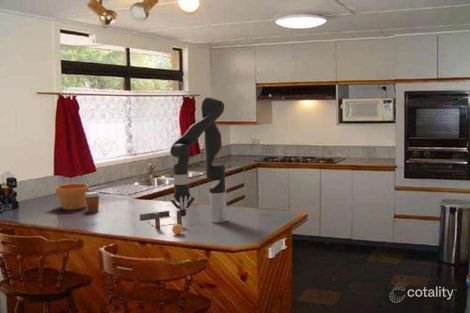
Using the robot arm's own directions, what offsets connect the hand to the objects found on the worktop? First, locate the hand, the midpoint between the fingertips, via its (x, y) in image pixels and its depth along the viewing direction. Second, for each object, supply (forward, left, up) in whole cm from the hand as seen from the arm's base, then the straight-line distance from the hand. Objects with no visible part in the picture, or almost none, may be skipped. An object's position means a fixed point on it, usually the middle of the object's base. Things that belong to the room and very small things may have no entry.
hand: (183, 216), depth 274 cm
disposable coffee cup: (-96, -30, -12) cm, 101 cm away
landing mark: (-40, 0, -12) cm, 42 cm away
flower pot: (-114, -40, -12) cm, 121 cm away
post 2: (-26, +6, -12) cm, 29 cm away
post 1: (-26, -6, -12) cm, 29 cm away
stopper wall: (-55, 0, -12) cm, 56 cm away
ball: (-10, 0, -9) cm, 13 cm away
